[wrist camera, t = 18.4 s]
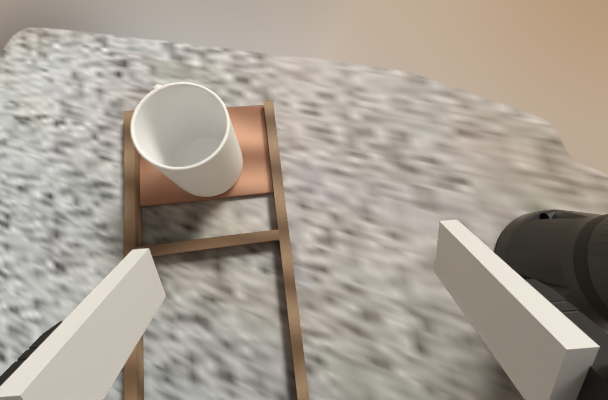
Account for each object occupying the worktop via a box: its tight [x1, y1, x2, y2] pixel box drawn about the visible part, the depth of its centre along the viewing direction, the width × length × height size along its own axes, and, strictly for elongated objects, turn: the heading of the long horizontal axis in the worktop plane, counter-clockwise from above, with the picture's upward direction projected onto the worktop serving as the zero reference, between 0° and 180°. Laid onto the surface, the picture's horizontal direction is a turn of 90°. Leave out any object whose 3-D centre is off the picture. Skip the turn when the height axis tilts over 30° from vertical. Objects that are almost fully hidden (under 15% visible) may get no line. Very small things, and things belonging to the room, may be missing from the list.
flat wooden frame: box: [124, 100, 309, 400], centre depth 34 cm, size 35×18×2 cm, turn 8°
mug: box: [130, 82, 243, 197], centre depth 31 cm, size 9×12×11 cm
